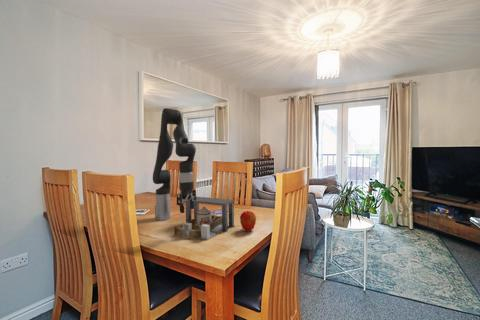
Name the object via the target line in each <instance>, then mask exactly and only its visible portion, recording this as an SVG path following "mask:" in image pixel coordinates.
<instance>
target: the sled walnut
mask: <svg viewBox="0 0 480 320" xmlns="http://www.w3.org/2000/svg"><path fill="white" fill-rule="evenodd" d="M213 218H214V214H211V220H212V219H213ZM209 225H210V232H211V230H212V229H214V228H215V227H217V226H218V225H222V215H216V217H215V219H214V220H213V221H211V224H209ZM195 226H197V217H196V218H194V217H193V218H191V220H190V221H188V222H186V221H185V222H184V223H182V224H180V225H178V226H177V225H176V226H175V227H174V236H177V237H178V236H179V237H182V238H187V239H196V240H201V239H200V237H201V228H199V230H198V229H193V227H195Z"/></svg>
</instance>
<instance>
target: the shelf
mask: <svg viewBox="0 0 480 320" xmlns="http://www.w3.org/2000/svg"><path fill="white" fill-rule="evenodd" d="M234 203H235V201H234V199H228V198H216V197H215V198H214V197H207V196H206V197H205V196H196V200H195V201H194V209H193V219H194V218H196V217H197V211H198V210H200V204H203V205H214V206H220V207H221V216H222V230H221V232H224V233H227V232H228V230H229V228H234V227H235V218H234V217H235V204H234ZM190 220H192V209H190V201H189V199H188V200H187V201H186V202H185V223H186V222H188V221H190Z"/></svg>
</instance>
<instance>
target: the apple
mask: <svg viewBox="0 0 480 320" xmlns="http://www.w3.org/2000/svg"><path fill="white" fill-rule="evenodd" d="M239 220H240V225H241V228H242V230H244V232H251V231H252V230H253V229H255V225H256V223H257V216H256V213H254V212H253V211H250V210H246V211H243V212H242V213H241V214H240V217H239Z"/></svg>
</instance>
